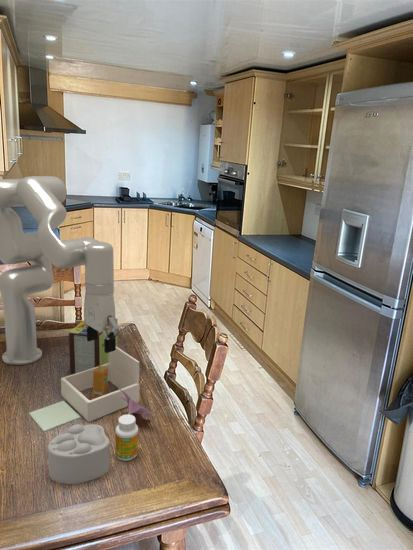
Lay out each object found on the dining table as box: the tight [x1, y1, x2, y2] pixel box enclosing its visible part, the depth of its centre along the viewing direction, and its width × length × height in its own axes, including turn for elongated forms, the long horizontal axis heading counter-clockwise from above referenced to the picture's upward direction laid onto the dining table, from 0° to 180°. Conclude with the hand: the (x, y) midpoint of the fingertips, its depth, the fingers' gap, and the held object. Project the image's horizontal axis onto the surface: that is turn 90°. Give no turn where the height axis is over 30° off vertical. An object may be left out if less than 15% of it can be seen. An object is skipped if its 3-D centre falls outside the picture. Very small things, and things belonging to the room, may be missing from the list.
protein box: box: [68, 318, 119, 376], centre depth 142 cm, size 10×15×16 cm
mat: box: [28, 400, 81, 433], centre depth 117 cm, size 10×10×1 cm
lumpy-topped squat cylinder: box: [47, 423, 111, 485], centre depth 98 cm, size 10×13×9 cm
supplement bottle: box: [114, 413, 139, 462], centre depth 103 cm, size 5×5×10 cm
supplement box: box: [92, 366, 109, 400], centre depth 125 cm, size 3×3×10 cm
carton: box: [60, 346, 141, 423], centre depth 125 cm, size 16×16×13 cm
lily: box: [119, 389, 154, 422], centre depth 116 cm, size 12×12×10 cm
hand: (101, 345), depth 122 cm, fingers open, 9 cm apart
